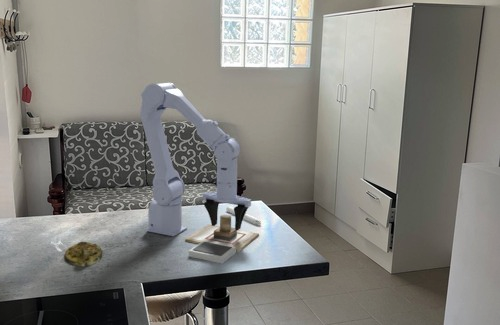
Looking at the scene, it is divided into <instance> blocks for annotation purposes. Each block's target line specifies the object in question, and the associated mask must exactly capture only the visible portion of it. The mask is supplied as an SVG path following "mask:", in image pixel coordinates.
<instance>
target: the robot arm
mask: <svg viewBox="0 0 500 325" xmlns="http://www.w3.org/2000/svg"><path fill="white" fill-rule="evenodd" d="M140 96H141V99H142V101H141V107H140V112H139V114H140V119H141V123H142V127H143V130H144V135H145V139H146V142H147V146H148V150H149V153H150V157H151V158H150V159H151V161H152V165H153V168H154V173H155V174H154V177H153V179H152V187H153V188H152V189H153V190H152V197H153V199H154V200H152V201H151V202H150V204H149V206H148V207H149V208H148V212H147V213H148V228H147V229H146V231H147V232H150V233H154V234H159V235H165V236H170V237H175V236H177V235H178V234H180V233H182V232H184V231H186V230H187V229H188V227H187V226H184V225H182V222H183V221H182V218H183V217H182V210H183V209H182V196H183V195H184V194H185V192H186V186H185V183H184V181H183V179H181V177H180V173H179V172H178V171H177V170H176V169H175V168H174V165H173V161H172V157H171V154H170V150H169V146H168V142H167V138H166V134H165V130H164V126H163V123H162V118H161V117H162V115H163V113H165V111H166V109H167V108H168V109H173V110H174V109H175V110H176V111H177V112H178V113H179V114H181V115H182V117H184V118H186V120H188V121H189V122H190V123H191V124H192V125H193V126H194V127H195V128H196V134H197V135H198V136H199V138H200V139H201V140H202V141H204V142H205V144H206V145H207V146H208V147H209V148H211V150H213V154H214V155H213V156H214V157H215V159H216V161H217V163H216V165H217V166H216V192H205V193H204V192H203V193H202V201H205V202H204V203H203V205H204V207H205V209H206V211H207V213H208V216H209V219H210V225H212V226H217V224H218V213H219V211H218V210H219V204H220V203H224V204H228V205H235V206H234V207H233V208H234V212H235V215H234V218H235V219H234V220H235V221H234V223H235V224H234V226H235V227H234V228H235V230H241V228H242V223H243V220H244V219H243V217H244V215H245V213H246V212H247V210H248V209H249V208H250V207H251V206H252V199H251V198H247V197H244V196H240V195H237V193H238V156H239V155H240V154H241V145H240V143H239V142H238V139H236V138H233V137H231V136H230V134H226V133H225V132H224V130H222V129H221V128H220V127H219V126H218V125H219V123H218V122H217V121H216V120H214V121H213V120H212V119H206V118H205V117H204V116H203V115H202V114H201V113H200V112H199V110H197V108H196V107H195V106H194V105H193V104H192V102H190V101H189V100H188V98H186V96H185V95H184V94H183V92H182V90H181V89H179V88H177V86H176V85H175V84H174V83H172V82H168V81H166V82H161V83H159V82H158V83H154V82H153V83H150V84H147V86H145V88H144V89H143V91H142V93H141V94H140ZM246 214H247V213H246Z"/></svg>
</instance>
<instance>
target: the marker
mask: <svg viewBox="0 0 500 325" xmlns="http://www.w3.org/2000/svg"><path fill="white" fill-rule="evenodd" d="M234 208H235V207H233V206H231V205H230V206H226V211H227V213H229V212H230V213H229V214H231V213H232V214H231V215H233V214H234V216H235V212H234ZM243 220H244V221H246V222H248V223H251V224H252V225H256V226H261V225H262V222H261V220H260V219H259V218H256V217H255V216H253V215H250V214H248V213H245V215H244V217H243Z"/></svg>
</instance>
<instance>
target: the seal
mask: <svg viewBox="0 0 500 325" xmlns="http://www.w3.org/2000/svg"><path fill="white" fill-rule="evenodd" d="M103 253H104V252H103V250H102V248H101V247H100V246H98V244H97V243H91V242H88V241H79V242H77V243H76V244H74V245H72V246H70V247H68V248H67V249H66V250H65V253H64V258H65V260H66V262H68V263H69V264H71V265H73V266H78V267H90V266H92V265H94V264H96V263H98V262H99V261H100V260H102V258H103Z"/></svg>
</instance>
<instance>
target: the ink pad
mask: <svg viewBox="0 0 500 325" xmlns="http://www.w3.org/2000/svg"><path fill="white" fill-rule="evenodd" d="M236 252H237V251H236V247H232V246H227V245H222V244H217V243H212V242H207V241H202V242H201V243H199V244H198V243H197V244H196V245H195V246H194V247H192V248H191V249H189V250H188V257H189V258H194V259H200V260H204V261H209V262H213V263H218V264H224V263H225V262H226V261H228V259H230V258H231V257H232V256H234V255H235V254H236Z"/></svg>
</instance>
